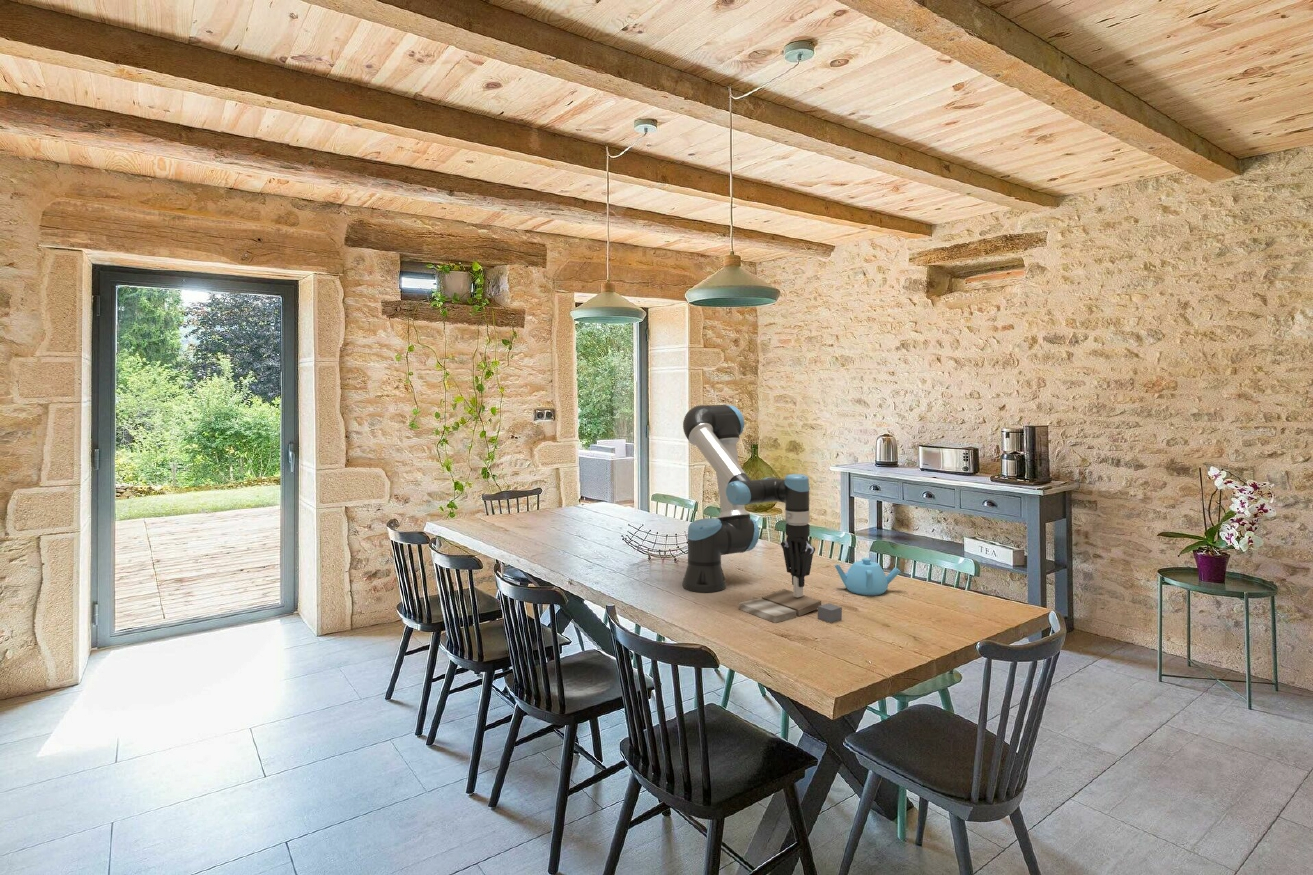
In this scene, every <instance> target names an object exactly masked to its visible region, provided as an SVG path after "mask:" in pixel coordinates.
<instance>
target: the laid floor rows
mask: <svg viewBox="0 0 1313 875" xmlns="http://www.w3.org/2000/svg"><path fill="white" fill-rule="evenodd" d="M738 609H739V610H740V611H743V612H746V613H748V614H751V615H753V616H755V617H758V618H761V619H764V620H766V621H769V622H772V623H773V624H777V623H780V622H783V621H788V620H792V619H794V618H797V615H796V611H795V610H792V609H790V608H787V607H784V606H781V605H778V604H775V603H773V602H770V601H767V600H764V599H762V598H761V597H759V598H758V597H757V598H755V599H754V598H753V599H750V600H745V601H741V602H739V603H738Z"/></svg>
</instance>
